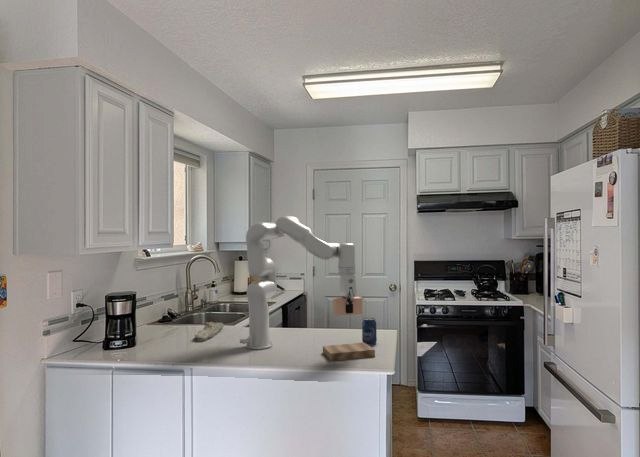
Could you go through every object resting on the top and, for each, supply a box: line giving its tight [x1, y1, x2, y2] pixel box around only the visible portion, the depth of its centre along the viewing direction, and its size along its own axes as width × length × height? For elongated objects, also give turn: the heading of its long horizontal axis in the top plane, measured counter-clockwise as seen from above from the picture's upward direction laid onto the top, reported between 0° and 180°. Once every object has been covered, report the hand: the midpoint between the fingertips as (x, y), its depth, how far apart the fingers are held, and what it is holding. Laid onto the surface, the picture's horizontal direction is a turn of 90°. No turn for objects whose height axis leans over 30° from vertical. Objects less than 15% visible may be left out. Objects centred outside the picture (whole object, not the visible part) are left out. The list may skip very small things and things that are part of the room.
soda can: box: [361, 317, 378, 346], centre depth 211 cm, size 7×7×12 cm
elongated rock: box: [193, 321, 224, 343], centre depth 237 cm, size 35×5×10 cm
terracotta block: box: [332, 296, 363, 316], centre depth 193 cm, size 4×12×7 cm, turn 105°
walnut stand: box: [322, 342, 376, 362], centre depth 193 cm, size 20×13×3 cm, turn 105°
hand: (347, 311), depth 193 cm, fingers closed on terracotta block, 4 cm apart
